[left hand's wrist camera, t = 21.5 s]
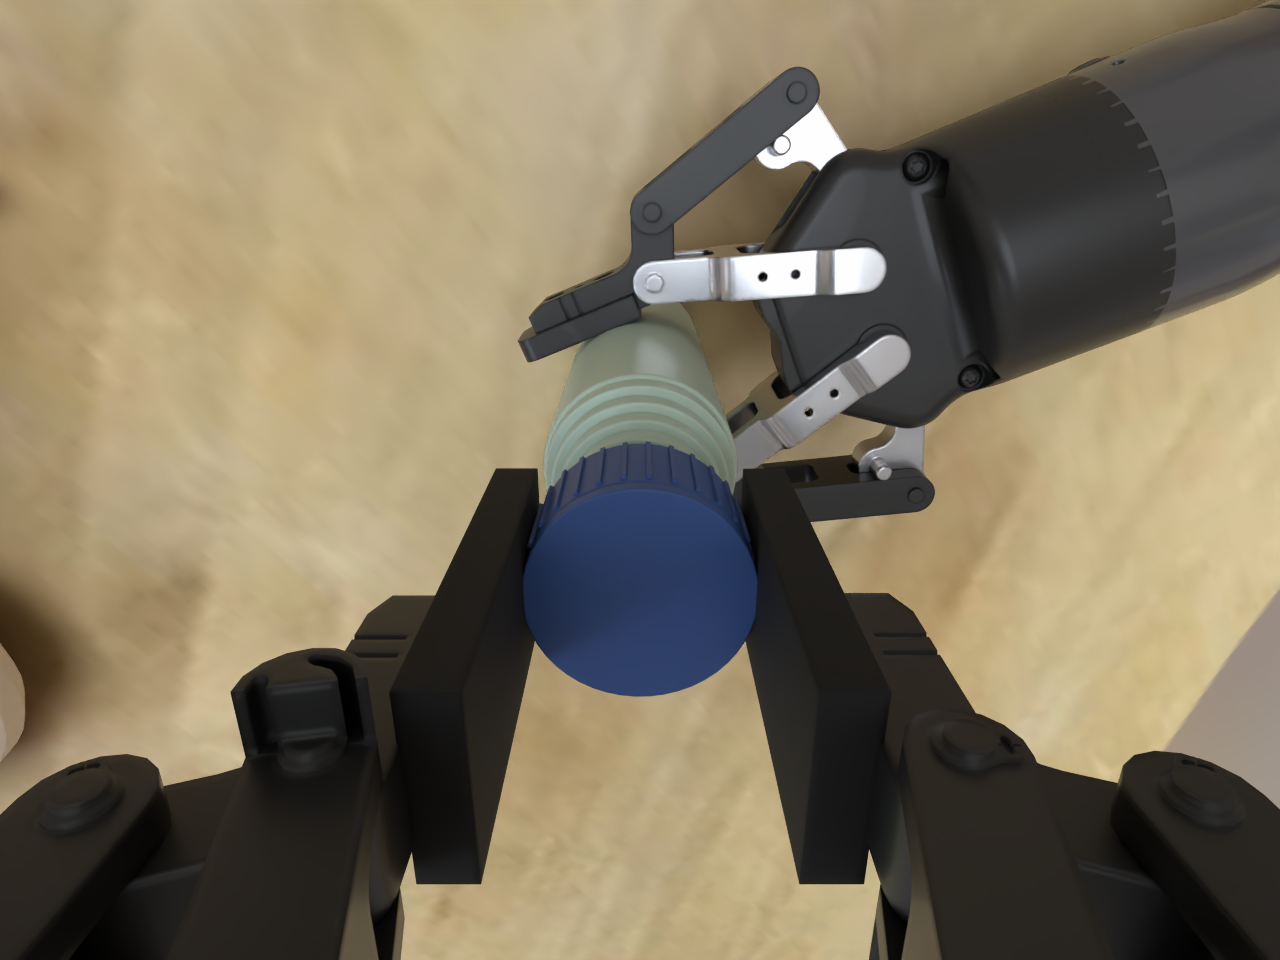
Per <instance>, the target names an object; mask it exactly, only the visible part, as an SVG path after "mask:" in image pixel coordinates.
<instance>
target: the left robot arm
mask: <svg viewBox="0 0 1280 960" xmlns="http://www.w3.org/2000/svg"><path fill="white" fill-rule="evenodd" d="M538 508H539V488H538V469H496V470H495V472H494V474H493V476H492V478H491V480H490V482H489V484H488V486H487V488H486V491H485V493H484V495H483V497H482V499H481V501H480V503H479V505H478V507H477V509H476V511H475V514H474V516H473V518H472V520H471V522H470V524H469V526H468V528H467V530H466V532H465V534H464V537H463V539H462V541H461V543H460V545H459V547H458V549H457V551H456V553H455V555H454V557H453V560H452V562H451V564H450V566H449V568H448V570H447V572H446V574H445V576H444V578H443V580H442V583H441V585H440V587H439V589H438V591H437V593H436V595H435V596H392V597H390V598H389V599H387V600H386V601H385V602H383V603H382V604H381V605H379V606H378V607H377V608H375V609H374V610H372V611H371V612H370V613H368V614H367V616H366V618H365V619H364V621H363V622H362V624H361V626H360V627H359V629H358V631H357V632H356V634H355V639H354V640H351V642H350V644H349V645H348V647H347V649H346V650H345V651H343V650H340V649H336V648H311V649H306V650H301V651H296V652H291V653H286V654H284V655H282V656H279V657H277V658H274V659H272V660H269V661H267V662H264V663H262V664H261V665H259V666H258V667H256V668H255V669H253V670H252V671H250V672H249V673H247V674H246V675H244V676H243V677H242V678H241V679H240V681H239V682H238V683H237V684H236V686H235V687H234V688H233V689H232V691H231V697H232V701H233V705H234V709H235V714H236V718H237V722H238V726H239V731H240V735H241V739H242V743H243V748H244V752H245V756H246V758H245V761H244V763H243V766H242V767H240V768H238V769H234V770H231V771H227V772H224V773H220V774H217V775H212V776H208V777H203V778H199V779H194V780H190V781H185V782H181V783H176V784H172V785H167V786H163V783H162V779H161V776H160V772H159V769H158V768H157V767H156V766H155V765H154V764H153V763H152V762H151V761H149V760H148V759H147V758H143V757H138V756H133V755H129V754H123V755H112V756H102V757H98V758H94V759H91V760H87V761H84V762H80V763H78V764H74V765H71V766H69V767H67V768H65V769H63V770H61V771H59V772H57V773H55V774H53V775H51V776H49V777H47V778H45V779H43V780H41V781H40V782H39V783H37V784H36V785H35V786H33V787H32V788H31V789H29V790H28V791H27V792H25V793H24V794H23V795H22V796H20V797H19V798H18V799H16V800H15V801H14V802H13V803H12V804H11V805H10V806H9V807H8V808H7V809H6V810H5V811H4V812H3V813H2V814H1V815H0V960H400V959H401V949H402V939H403V929H404V911H403V904H402V897H401V891H400V885H401V882H402V879H403V876H404V873H405V870H406V867H407V864H408V861H409V858H410V855H411V852H412V856H413V863H414V870H415V877H416V884H481V882H482V877H483V873H484V868H485V864H486V859H487V855H488V850H489V846H490V841H491V837H492V832H493V828H494V823H495V819H496V814H497V810H498V805H499V801H500V796H501V792H502V787H503V783H504V778H505V773H506V769H507V764H508V760H509V755H510V751H511V746H512V742H513V737H514V733H515V728H516V724H517V719H518V715H519V710H520V706H521V701H522V697H523V692H524V688H525V683H526V679H527V674H528V670H529V665H530V661H531V656H532V652H533V647H534V643H535V639H534V638H533V636H532V634H531V632H530V630H529V627H528V625H527V622H526V619H525V607H524V591H523V573H524V568H525V564H526V561H527V558H528V554H529V550H530V548H529V547H527V545H528V542H529V538H530V535H531V532H532V528H533V525H534V522H535V518H536V515H537V512H538ZM741 509H742V512H743V515H744V519H745V522H746V526H747V529H748V532H749V536H750V539H751V541H750V545H751V548H752V552H753V555H754V563H755V567H756V571H757V574H758V582H757V599H756V614H755V621H754V623H753V626H752V629H751V631H750V633H749V635H748V637H747V639H746V645H747V650H748V654H749V659H750V663H751V668H752V672H753V677H754V681H755V686H756V690H757V695H758V699H759V704H760V708H761V713H762V717H763V722H764V726H765V731H766V735H767V740H768V744H769V749H770V753H771V758H772V762H773V767H774V771H775V776H776V780H777V785H778V789H779V794H780V798H781V803H782V807H783V812H784V816H785V821H786V825H787V830H788V834H789V839H790V843H791V848H792V852H793V857H794V861H795V866H796V870H797V875H798V879H799V884H864V880H865V873H866V866H867V859H868V852H869V850H870V853H871V856H872V859H873V862H874V865H875V868H876V871H877V874H878V877H879V880H880V883H881V884H880V891H879V897H878V904H877V910H876V917H875V923H874V930H873V936H872V943H871V949H870V956H869V960H1280V809H1279V808H1278V807H1277V806H1276V805H1274V804H1273V803H1272V802H1271V801H1270V800H1269V799H1268V798H1267V797H1266V796H1265V795H1264V794H1262V793H1261V792H1260V791H1258V790H1257V789H1256V788H1254V787H1253V786H1252V785H1250V784H1249V783H1248V782H1246V781H1245V780H1244V779H1242V778H1241V777H1239V776H1237V775H1235V774H1233V773H1231V772H1229V771H1227V770H1225V769H1223V768H1221V767H1219V766H1217V765H1215V764H1213V763H1211V762H1208V761H1205V760H1202V759H1199V758H1195V757H1192V756H1188V755H1185V754H1182V753H1172V752H1161V751H1152V752H1147V753H1142V754H1137V755H1134V756H1133V757H1132V758H1131V759H1130V760H1129V761H1127V762H1126V763H1125V764H1124V765H1123V768H1122V771H1121V775H1120V778H1119V782H1118V783H1115V782H1110V781H1106V780H1101V779H1097V778H1092V777H1088V776H1083V775H1079V774H1074V773H1069V772H1065V771H1061V770H1058V769H1054V768H1051V767H1047V766H1044V765H1041V764H1039V763H1037V762H1036V759H1035V757H1034V755H1033V754H1032V752H1031V751H1030V749H1029V748H1028V746H1027V745H1026V743H1025V742H1024V740H1023V739H1021V738H1020V737H1019V736H1018V735H1016V734H1015V733H1014V732H1012V731H1011V730H1010V729H1009V728H1007V727H1006V726H1005V725H1003V724H1001V723H998V722H996V721H994V720H992V719H990V718H987V717H985V716H983V715H981V714H976V713H975V711H974V710H973V708H972V706H971V705H970V703H969V701H968V700H967V698H966V697H965V695H964V693H963V692H962V690H961V688H960V687H959V685H958V684H957V682H956V680H955V679H954V677H953V675H952V674H951V672H950V670H949V669H948V667H947V666H946V664H945V662H944V661H943V659H942V657H941V656H940V655H937V649H936V648H935V646H934V644H933V643H932V641H931V640H930V638H929V637H927V636H926V631H925V630H924V628H923V627H922V625H921V623H920V622H919V620H918V618H917V617H916V615H915V614H914V612H913V611H912V610H910V609H909V608H908V607H906V606H905V605H904V604H902V603H901V602H899V601H898V600H897V599H895V598H894V597H893V596H891V595H890V594H889V593H844V592H843V590H842V588H841V586H840V583H839V581H838V579H837V577H836V575H835V573H834V571H833V569H832V567H831V565H830V563H829V561H828V558H827V556H826V554H825V552H824V550H823V548H822V546H821V544H820V542H819V540H818V538H817V535H816V533H815V531H814V529H813V527H812V525H811V523H810V521H809V519H808V517H807V515H806V512H805V510H804V508H803V506H802V504H801V502H800V500H799V498H798V496H797V494H796V492H795V489H794V487H793V485H792V483H791V481H790V479H789V477H788V475H787V473H786V471H785V469H743V479H742V498H741Z"/></svg>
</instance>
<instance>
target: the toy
mask: <svg viewBox="0 0 1280 960" xmlns="http://www.w3.org/2000/svg"><path fill="white" fill-rule="evenodd" d="M24 721H25V689H24V685H23V681H22V676H21V674H20V672H19V671H18V669H17V667H16V665H15V663H14V662H13V660H12V659H11V657H10V656H9V655H8V653H7V652H6V650H5V649H4V648H3V646H2V645H1V643H0V762H1V761H2V760H3V759H4V758H5V756H6V755H7V754H8V753H9V752H10V750H11V749H12V748H13V747H14V746H15V744H16V743H17V742H18V740H19V738H20V736H21V734H22V732H23V730H24Z"/></svg>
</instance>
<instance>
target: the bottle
mask: <svg viewBox="0 0 1280 960" xmlns="http://www.w3.org/2000/svg"><path fill="white" fill-rule="evenodd" d="M646 441H648V442H651V444H654V445H661V446H665V447H669V445H672V446H674V449H676V450H679V451H682V452H684V453H687V454H689V455H690V454H691V453H692V454H694V455H695V458H696V459H698V460H700V461H701V462H702V463H704V464H705V465H707V466H708V467H709V465H711V466H712V467H713V468H714V472H715V473H716V474H717V475H718V476H719V477H720V478H721V479H722V481H723V482H724V481H725V480H726V481H727V482H728V484H729V487H730V491H731V493H732V495H733V492H734V487H735V479H736V471H737V457H736V449H735V444H734V440H733V437H732V434H731V431H730V428H729V425H728V422H727V419H726V416H725V413H724V411H723V408H722V405H721V402H720V399H719V396H718V393H717V390H716V387H715V384H714V381H713V379H712V376H711V373H710V370H709V367H708V364H707V361H706V358H705V355H704V352H703V349H702V346H701V344H700V341H699V338H698V335H697V332H696V329H695V326H694V323H693V321H692V319H691V317H690V315H689V313H688V312H687V310H686V309H685V308H684V306H683V305H682V304H681V303H670V304H658V305H649V306H647V307H644V308H642V318H640V319H637V320H635V321H632V322H630V323H627V324H625V325H622V326H620V327H616V328H614V329H611V330H609V331H606V332H605V333H603V334H600V335H598V336H595V337H593V338H590V339H588V340H586V341H583V342H581V343H580V345H579V348H578V351H577V354H576V357H575V359H574V362H573V365H572V368H571V371H570V374H569V377H568V380H567V383H566V386H565V389H564V391H563V394H562V397H561V400H560V403H559V406H558V409H557V412H556V415H555V418H554V421H553V424H552V426H551V429H550V432H549V435H548V438H547V442H546V446H545V452H544V476H545V484H546V490H547V491H548V488H549V487H550V485H551V486H554V485H555V484H556V482H557V481H558V480H559V479H560V478H561V475H562V471H564V470H565V469H566V470H567V471H568V470H569V469H570V468H571V467H573V466H574V465H575V464H576V463H578V462H579V459H580V458H581V457H583V456H584V457H585V458H586V457H588V456H590V455H592V454H594V453H596V452H599V451H600V448H602V447H605V449H607V448H611V447H615V446H619V445H623V442H628V444H646Z"/></svg>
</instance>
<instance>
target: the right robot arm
mask: <svg viewBox="0 0 1280 960" xmlns="http://www.w3.org/2000/svg"><path fill="white" fill-rule="evenodd" d="M819 93H820V89H819V83H818V80H817V78H816V77H815V75H814V74H813V73H812V72H811V71H810V70H808V69H806V68H803V67H793V68H790V69H788V70H786V71H785V72H783V73H782V74H780V75H779V76H777V77H776V78H774V79H773V80H771V81H770V82H769V83H767V84H766V85H765V86H764V87H763V88H761V89H760V90H759V91H758V92H757V93H755V94H754V95H753V96H752V97H751V98H749V99H748V100H747V101H746V102H745V103H744V104H742V105H741V106H740V107H739V108H738V109H736V110H735V111H734V112H733V113H732V114H730V115H729V116H728V117H727V118H726V119H724V120H723V121H722V122H721V123H720V124H719V125H717V126H716V127H715V128H714V129H713V130H711V131H710V132H709V133H708V134H707V135H705V136H704V137H703V138H702V139H701V140H699V141H698V142H697V143H696V144H695V145H693V146H692V147H691V148H690V149H689V150H688V151H686V152H685V153H684V154H683V155H682V156H680V157H679V158H678V159H677V160H676V161H674V162H673V163H672V164H671V165H670V166H668V167H667V168H666V169H665V170H664V171H663V172H661V173H660V174H659V175H658V176H657V177H655V178H654V179H653V180H652V181H651V182H649V183H648V184H647V185H646V186H645V187H643V188H642V189H641V190H640V191H639V192H638V193H637V194H636V195H635V196H634V198H633V200H632V204H631V209H630V216H631V239H632V249H631V253H630V255H629V257H628V259H627V260H626V261H625V262H624V263H623V264H622V265H621V266H620V267H618V268H616V269H613V270H611V271H609V272H606V273H604V274H601V275H599V276H597V277H594V278H592V279H589V280H587V281H585V282H582V283H580V284H577V285H575V286H573V287H570V288H568V289H566V290H564V291H561V292H558V293H556V294H554V295H551V296H549V297H547V298H546V299H545V300H544V301H543V302H542V303H541V304H540V305H539V306H538V307H537V308H536V309H535V310H534V311H533V312H532V314H531V315H530V316H529V320H530V322H531V324H532V326H533V327H531V328H529V329H528V330H526V331H525V332H523V334H522V335H521V337H520V338H519V340H518V342H519V345H520V347H521V349H522V351H523V353H524V355H525V357H526V360H527V362H533V361H536V360H539V359H541V358H544V357H546V356H549V355H551V354H554V353H556V352H559V351H561V350H563V349H566V348H568V347H571V346H573V345H576V344H578V343H581V342H583V341H586V340H588V339H590V338H593V337H595V336H598V335H600V334H603V333H605V332H606V331H609V330H611V329H614V328H616V327H620V326H622V325H625V324H627V323H630V322H632V321H635V320H637V319H640V318H642V308H644V307H647V306H649V305H658V304H670V303H683V302H696V301H709V300H716V301H724V302H732V301H746V300H753V302H754V305H755V308H756V310H757V311H758V313H759V314H760V316H761V317H762V319H763V320H764V321H765V323H766V324H767V326H768V327H769V329H770V335H771V351H772V357H773V360H774V363H775V366H776V369H777V371H775V372H774V373H773V374H771V375H770V376H769V377H768V378H766V379H765V380H764V381H762V382H761V383H760V384H759V385H757V386H756V387H755V388H754V389H753V390H752V392H751V393H750V395H749V397H748V398H747V399H746V400H745V401H744V402H742V403H741V404H740V405H739V406H737V407H736V408H735V409H733V410H732V411H731V412H730V413H728V414H727V415H726V419H727V422H728V425H729V428H730V431H731V434H732V437H733V440H734V444H735V449H736V457H737V471H736V479H735V487H734V492H733V497H734V499H736V498H738V500H739V502H740V505H741V498H742V479H743V469H785V471H786V473H787V475H788V477H789V479H790V481H791V483H792V485H793V487H794V489H795V492H796V494H797V496H798V498H799V500H800V502H801V504H802V506H803V508H804V510H805V512H806V515H807V517H808V519H809V521H810V522H816V521H827V520H837V519H848V518H858V517H869V516H879V515H890V514H900V513H911V512H918V511H921V510H923V509H925V508H927V507H928V506H929V505H930V504H931V502H932V501H933V498H934V495H935V490H934V486H933V484H932V483H931V482H930V481H929V480H928V479H927V478H926V476H925V474H924V471H923V466H924V434H925V425H926V424H928V423H930V422H931V421H933V420H934V419H936V418H937V417H938V416H939V415H940V414H941V413H942V412H943V411H944V410H945V409H946V408H947V407H948V406H949V405H950V404H951V403H952V402H954V401H955V400H956V399H958V398H959V397H961V396H962V395H964V394H966V393H969V392H972V391H975V390H979V389H982V388H986V387H990V386H994V385H997V384H1000V383H1003V382H1006V381H1009V380H1012V379H1014V378H1017V377H1020V376H1022V375H1025V374H1028V373H1030V372H1033V371H1036V370H1038V369H1041V368H1044V367H1047V366H1049V365H1052V364H1055V363H1057V362H1060V361H1063V360H1065V359H1068V358H1071V357H1073V356H1076V355H1079V354H1082V353H1084V352H1087V351H1090V350H1092V349H1095V348H1098V347H1100V346H1103V345H1106V344H1109V343H1111V342H1114V341H1117V340H1120V339H1122V338H1125V337H1128V336H1130V335H1133V334H1136V333H1138V332H1141V331H1143V330H1146V329H1149V328H1151V327H1154V326H1157V325H1160V324H1162V323H1165V322H1168V321H1170V320H1173V319H1176V318H1178V317H1181V316H1184V315H1186V314H1189V313H1192V312H1195V311H1197V310H1200V309H1203V308H1205V307H1208V306H1211V305H1213V304H1216V303H1219V302H1221V301H1224V300H1226V299H1229V298H1231V297H1234V296H1236V295H1238V294H1241V293H1243V292H1245V291H1247V290H1249V289H1251V288H1253V287H1255V286H1257V285H1259V284H1261V283H1263V282H1265V281H1267V280H1269V279H1270V278H1272V277H1274V276H1276V275H1278V274H1280V0H1269V1H1267V2H1264V3H1262V4H1260V5H1257V6H1255V7H1253V8H1250V9H1248V10H1246V11H1244V12H1241V13H1238V14H1235V15H1233V16H1230V17H1227V18H1224V19H1221V20H1217V21H1214V22H1210V23H1207V24H1203V25H1199V26H1195V27H1192V28H1188V29H1184V30H1181V31H1177V32H1174V33H1171V34H1167V35H1164V36H1161V37H1159V38H1156V39H1153V40H1151V41H1148V42H1145V43H1143V44H1140V45H1138V46H1136V47H1133V48H1131V49H1129V50H1126V51H1124V52H1121V53H1119V54H1116V55H1114V56H1107V57H1104V58H1097V59H1094V60H1091V61H1089V62H1087V63H1085V64H1083V65H1081V66H1079V67H1077V68H1075V69H1074V70H1072V71H1071V72H1069V74H1068V75H1066V76H1065V77H1062V78H1059V79H1057V80H1054V81H1052V82H1049V83H1047V84H1045V85H1042V86H1040V87H1038V88H1035V89H1033V90H1030V91H1028V92H1026V93H1023V94H1021V95H1019V96H1016V97H1014V98H1012V99H1009V100H1007V101H1004V102H1002V103H1000V104H997V105H995V106H993V107H990V108H988V109H985V110H983V111H981V112H978V113H976V114H974V115H971V116H969V117H966V118H964V119H962V120H959V121H957V122H955V123H952V124H950V125H947V126H945V127H943V128H940V129H938V130H936V131H933V132H931V133H928V134H926V135H924V136H921V137H919V138H917V139H914V140H912V141H909V142H907V143H905V144H902V145H900V146H897V147H894V148H891V149H888V150H883V151H875V150H868V149H846V147H845V146H844V144H843V142H842V141H841V139H840V138H839V136H838V135H837V133H836V131H835V130H834V128H833V127H832V125H831V123H830V122H829V120H828V119H827V117H826V116H825V114H824V112H823V111H822V109H821V108H820V106H819V105H818V103H817V101H818V99H819ZM753 158H754V160H755V161H756V162H757V164H759V165H760V166H761V167H763V168H766V169H782V168H784V167H786V166H788V165H790V164H791V163H794V162H797V161H799V162H802V163H805V164H807V165H808V166H809V167H810V168H811V169H812V170H813V171H812V173H811V174H810V176H809V177H808V179H807V180H806V182H805V183H804V185H803V186H802V188H801V189H800V191H799V192H798V194H797V195H796V197H795V199H794V200H793V202H792V203H791V205H790V206H789V208H788V209H787V211H786V212H785V214H784V215H783V217H782V218H781V220H780V221H779V223H778V224H777V226H776V228H775V229H774V231H773V232H772V234H771V235H770V237H769V238H768V240H767V241H766V242H759V243H747V244H734V245H722V246H713V247H709V248H704V249H692V250H680V251H674V223H675V222H676V221H678V220H679V219H680V218H681V217H682V216H684V215H685V214H686V213H687V212H689V211H690V210H691V209H692V208H693V207H695V206H696V205H697V204H698V203H700V202H701V201H702V200H703V199H704V198H706V197H707V196H708V195H709V194H711V193H712V192H713V191H714V190H715V189H717V188H718V187H719V186H720V185H722V184H723V183H724V182H725V181H726V180H728V179H729V178H730V177H731V176H733V175H734V174H735V173H736V172H737V171H739V170H740V169H741V168H742V167H744V166H745V165H746V164H747V163H749V162H750V161H751V160H752V159H753ZM808 408H810V409H809V410H808V411H805V410H806V409H808ZM839 413H840V414H844V415H848V416H853V417H857V418H861V419H865V420H869V421H873V422H877V423H882V424H886V426H885V428H884V430H883V431H882V432H881V433H880V434H879V435H878V436H876V437H874V438H871V439H866V440H864V441H862V442H860V443H859V444H858V445H857V446H856V447H855V449H854V450H853V453H852V455H847V456H837V457H827V458H817V459H806V460H796V461H786V462H776V463H766V464H762V463H763V462H765V461H766V460H767V459H769V458H770V457H771V456H773V455H774V454H775V453H777V452H778V451H780V450H782V449H789V448H792V447H794V446H796V445H798V444H799V443H800V442H802V441H803V440H804V439H806V438H807V437H808V436H810V435H811V434H812V433H814V432H815V431H817V430H818V429H819V428H821V427H822V426H823V425H825V424H826V423H827V422H829V421H830V420H831V419H833V418H834V417H835V416H837V415H838V414H839Z"/></svg>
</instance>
